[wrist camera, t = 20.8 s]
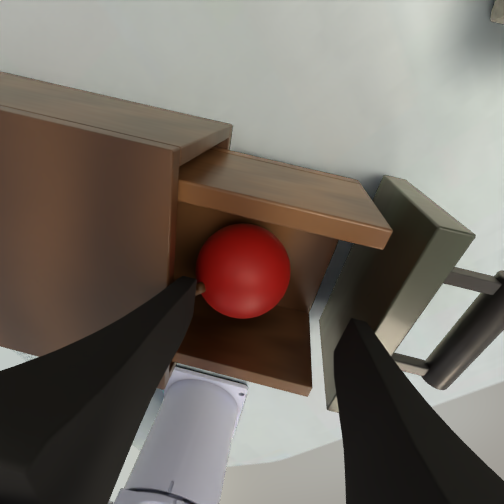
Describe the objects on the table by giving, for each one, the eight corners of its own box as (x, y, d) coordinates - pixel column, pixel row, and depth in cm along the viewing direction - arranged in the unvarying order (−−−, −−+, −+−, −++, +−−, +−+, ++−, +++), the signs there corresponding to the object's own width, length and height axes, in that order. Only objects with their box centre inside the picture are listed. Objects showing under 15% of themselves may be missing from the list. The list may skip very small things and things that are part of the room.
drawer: (500, 201, 14) (635, 272, 8) (401, 341, 19) (442, 440, 13) (155, 121, 14) (64, 137, 9) (154, 279, 20) (98, 350, 14)
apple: (296, 313, 15) (215, 363, 12) (244, 265, 18) (167, 296, 15) (322, 243, 13) (225, 284, 9) (256, 200, 15) (163, 220, 12)
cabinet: (233, 124, 14) (172, 150, 8) (209, 291, 20) (164, 390, 14) (-17, 67, 15) (-286, 43, 8) (32, 247, 21) (-98, 320, 14)
